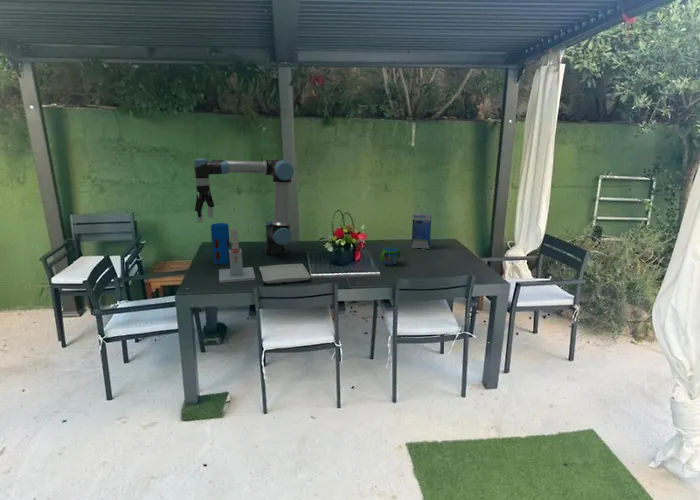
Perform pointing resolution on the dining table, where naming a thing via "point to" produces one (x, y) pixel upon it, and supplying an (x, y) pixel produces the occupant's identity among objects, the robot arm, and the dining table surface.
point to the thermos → (220, 243)
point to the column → (234, 240)
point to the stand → (236, 269)
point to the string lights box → (421, 230)
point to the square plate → (284, 273)
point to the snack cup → (390, 255)
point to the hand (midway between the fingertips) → (206, 219)
